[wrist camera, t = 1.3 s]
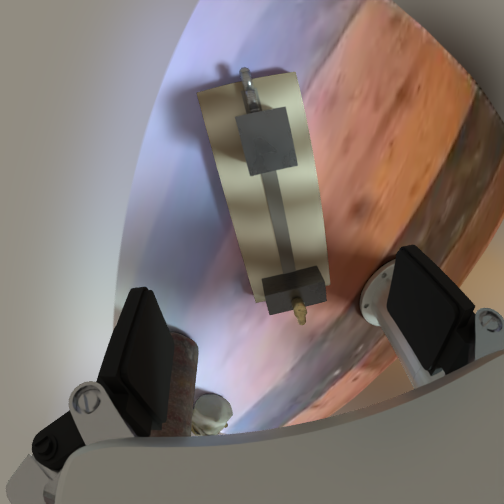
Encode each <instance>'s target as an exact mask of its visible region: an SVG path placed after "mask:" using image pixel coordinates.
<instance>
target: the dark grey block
mask: <svg viewBox="0 0 504 504" xmlns="http://www.w3.org/2000/svg"><path fill="white" fill-rule="evenodd" d="M239 73H240V77H241V81H242V84H243V88H244V92H245V96H246V100H247V104H248V108H249V111H250V113H249V114H245V115H240V116H236V117H235V120H236V124H237V128H238V132H239V136H240V140H241V144H242V148H243V152H244V156H245V160H246V164H247V167H248V171H249V174H250V176H254V175H258V174H262V173H267V172H271V171H276V170H280V169H285V168H290V167H294V166H298V163H297V157H296V152H295V147H294V143H293V138H292V133H291V128H290V124H289V119H288V115H287V110H286V107H279V108H273V109H268V110H263V111H259V105H258V101H257V97H256V93H255V89H254V85H253V81H252V77H251V73H250V70H249V69H248V68H246V67H243V68H241V69H240V71H239Z"/></svg>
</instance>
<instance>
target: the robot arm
mask: <svg viewBox="0 0 504 504" xmlns="http://www.w3.org/2000/svg"><path fill="white" fill-rule="evenodd" d="M474 308H475V305H474V304H473V303H472V302H471V300H469V298H468V297H467V296H466V295H465V294H464V293H463V292H462V291H461V290H460V289H459V288H458V286H457V285H456V284H455V283H454V282H453V281H452V280H451V279H450V278H449V277H448V276H447V275H446V274H445V273H444V272H443V271H442V270H441V269H440V268H439V267H438V266H437V265H436V264H435V263H434V262H433V261H432V260H431V259H429V258H428V257H427V256H426V255H425V254H424V253H423V252H422V251H421V250H420V249H419V248H418V247H417V246H415V245H408V246H403V247H401V248H400V250H399V251H398V252H397V254H396V259H394V260H392V261H390V262H388V263H387V264H385V265H384V266H382V267H381V268H380V269H378V270H377V271H376V272H375V273H374V274H373V275H372V277H371V278H370V279H369V280H368V282H367V283H366V285H365V287H364V289H363V291H362V293H361V297H360V311H361V313H362V315H363V317H364V318H365V320H366V321H367V322H369V323H370V324H373V325H376V326H381V328H382V330H383V331H384V333H385V335H386V337H387V338H388V340H389V342H390V344H391V345H392V347H393V349H394V351H395V353H396V355H397V356H398V358H399V360H400V362H401V364H402V366H403V368H404V369H405V371H406V373H407V375H408V377H409V379H410V381H411V383H412V385H413V387H414V390H411V391H409V392H407V393H404V394H401V395H399V396H396V397H393V398H391V399H388V400H385V401H382V402H379V403H376V404H373V405H370V406H367V407H364V408H361V409H358V410H354V411H351V412H348V413H344V414H340V415H336V416H333V417H329V418H325V419H320V420H316V421H312V422H307V423H302V424H297V425H292V426H287V427H281V428H275V429H269V430H262V431H254V432H246V433H236V434H225V435H211V436H192V437H149V436H150V435H151V430H162V423H165V422H166V420H167V411H168V400H169V391H170V382H171V373H172V365H173V357H174V349H175V346H174V340H173V338H172V336H171V333H170V331H169V329H168V327H167V324H166V322H165V320H164V317H163V315H162V313H161V310H160V308H159V305H158V303H157V300H156V298H155V295H154V293H153V291H152V290H148V288H147V287H139V288H132V289H131V290H130V292H129V294H128V297H127V299H126V302H125V304H124V307H123V309H122V312H121V315H120V317H119V320H118V323H117V325H116V326H115V328H114V331H113V333H112V336H111V339H110V342H109V344H108V347H107V351H106V353H105V356H104V359H103V362H102V365H101V368H100V372H99V375H98V378H97V381H96V382H92V381H89V382H84V383H82V384H80V385H79V386H78V387H76V388H75V389H74V391H73V392H72V393H71V396H70V398H69V408H70V410H69V411H68V412H67V413H65V414H64V415H62V416H61V417H60V418H58V419H57V420H55V421H54V422H53V423H51V424H50V425H48V426H47V427H46V428H44V429H43V430H41V431H40V432H39V433H38V434H37V435H36V436H35V438H34V440H33V443H32V452H33V455H32V456H31V455H30V454H28V455H27V457H26V458H25V459H24V461H23V462H22V463H21V465H20V466H19V467H18V469H17V470H16V471H15V473H14V474H13V475H12V477H11V478H10V480H9V481H8V483H7V485H6V493H7V497H8V499H9V501H10V502H11V504H504V319H503V317H502V316H501V315H500V314H499V313H498V312H496V311H495V310H493V309H490V308H481V309H480V310H478V311H477V312H476V314H475V313H474V312H473V310H474Z"/></svg>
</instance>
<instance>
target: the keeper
mask: <svg viewBox="0 0 504 504" xmlns="http://www.w3.org/2000/svg"><path fill="white" fill-rule="evenodd" d="M262 284H263V290H264V296H265V300H266V303H267V307H268V311H269V315H273V314H277V313H282V312H286V311H290V310H294V314H295V316H296V317H297V321H298V324H299V325H304V324H305V323H306V314H307V310H306V306H310V305H314V304H318V303H322V302H325V301H327V299H326V288H325V281H324V279H323V277H322V275H321V273H320V271H319V269H318V267H317V265H316V266H312V267H308V268H304V269H300V270H296V271H294V272H290V273H286V274H280V275H275V276H271V277H267V278H263V279H262Z"/></svg>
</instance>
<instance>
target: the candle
mask: <svg viewBox="0 0 504 504" xmlns="http://www.w3.org/2000/svg"><path fill="white" fill-rule="evenodd" d="M170 333H171V336H172V338H173V340H174V346H175V349H174V357H173V365H172V373H171V382H170V391H169V400H168V411H167V420H166V422H165V423H162V430H151V435H150V436H149V437H191V428H192V415H193V402H194V392H195V382H196V372H197V364H198V346H197V344H196V343H195V342H194V341H193V340H192V339H190V338H188V337H186V336H184V335H181V334H179V333H175V332H170Z"/></svg>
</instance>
